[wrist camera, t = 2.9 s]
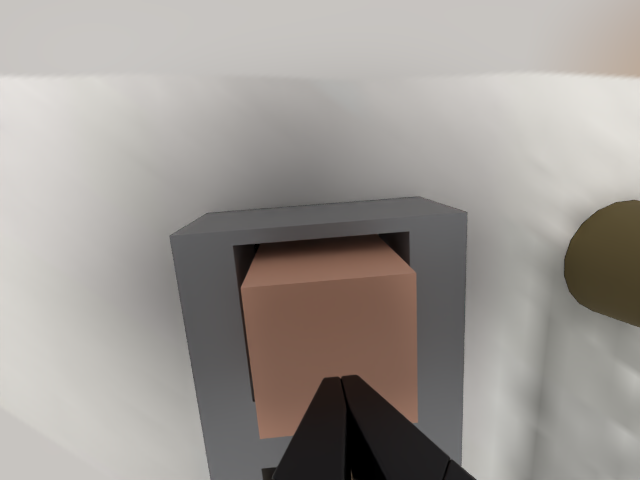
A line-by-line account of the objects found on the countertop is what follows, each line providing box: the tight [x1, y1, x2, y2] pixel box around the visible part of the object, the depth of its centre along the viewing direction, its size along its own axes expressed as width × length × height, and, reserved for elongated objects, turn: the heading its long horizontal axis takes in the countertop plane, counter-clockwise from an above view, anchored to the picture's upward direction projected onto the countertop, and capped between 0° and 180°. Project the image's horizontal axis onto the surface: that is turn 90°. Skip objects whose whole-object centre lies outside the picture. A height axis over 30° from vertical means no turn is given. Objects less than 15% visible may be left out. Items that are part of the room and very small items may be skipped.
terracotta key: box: [241, 234, 418, 439], centre depth 13 cm, size 5×5×6 cm
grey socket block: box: [170, 197, 467, 480], centre depth 16 cm, size 16×10×5 cm, turn 4°
